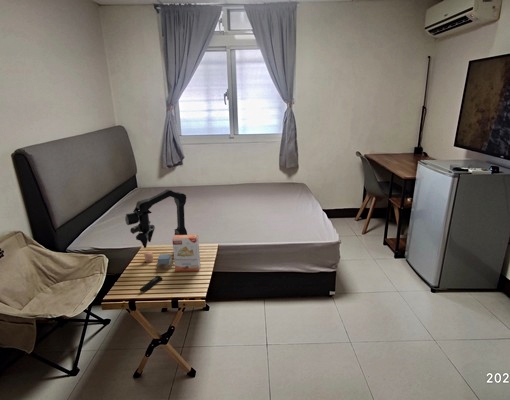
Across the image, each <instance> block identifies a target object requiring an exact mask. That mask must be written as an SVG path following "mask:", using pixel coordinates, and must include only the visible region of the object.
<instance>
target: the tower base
mask: <svg viewBox="0 0 510 400" xmlns="http://www.w3.org/2000/svg"><path fill="white" fill-rule="evenodd" d="M173 265H174V258H171V261H170V263H169V264H159V265H158V262H157V263H156V265H155V268H156V269H155V270H156V271H160V270H161V271H162V270H163V271H164V269H165V270H171V269H170V268H172V266H173Z"/></svg>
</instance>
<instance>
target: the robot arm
mask: <svg viewBox="0 0 510 400" xmlns="http://www.w3.org/2000/svg"><path fill="white" fill-rule="evenodd" d="M167 198H173V200H174V203H175V206H176V218H177V219H176V222H177V223H176V224H177V225H176V228H175V229H174V236H175V235H188V231H187V229H186V225H185V205H186V202H187V195H186V194H185V193H183V192H180V191H178V192H177V191H173V190H170V189H166V190H164V191H161V192H160V193H157V194H155V195H154V196H152V197H150V198H145V199H141V200H138V201H137V202H136V204H135V207H134V209H133V211H132V212H130V213H126V214H125V217H124V218H125V224H126V225H127V226H131V225H135V226H133V227H131V228H130V230H129V232H130V233H132V235H134V234H136V233H138V234H137V235H136V236H135V239H136V240H137V241H140V242H141V243H140V244H142V246H143V248H144V249H147V245H148V243H151V241H152V239H153V235H154V232H155V230H156V227H155V225H154V224H151V221H150V215H149V214H153V212H152V211H150V209H151V208H152V207H153V206H154V205H155V204H156V205H157V204H158V203H160V202H161V201H163V200H166V199H167ZM136 224H137V225H136Z"/></svg>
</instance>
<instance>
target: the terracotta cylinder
mask: <svg viewBox="0 0 510 400" xmlns="http://www.w3.org/2000/svg"><path fill="white" fill-rule="evenodd" d="M143 255H144V261H145V263H152V262H154V255H153V252H152V251H146V252H144V254H143Z"/></svg>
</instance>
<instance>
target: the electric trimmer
mask: <svg viewBox="0 0 510 400" xmlns="http://www.w3.org/2000/svg"><path fill="white" fill-rule="evenodd" d="M162 280H163V277H162V276H161V275H156V276H155V277H153V278H152V279H151V280H150V281H148V282H147V283H146V284H144V285H143V286H141V287H140V289H139V291H140V292H143V293H144V292H146V291H148V290H149V289H151V288H153V286H154V285H155V284H157V283H159V281H162Z"/></svg>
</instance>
